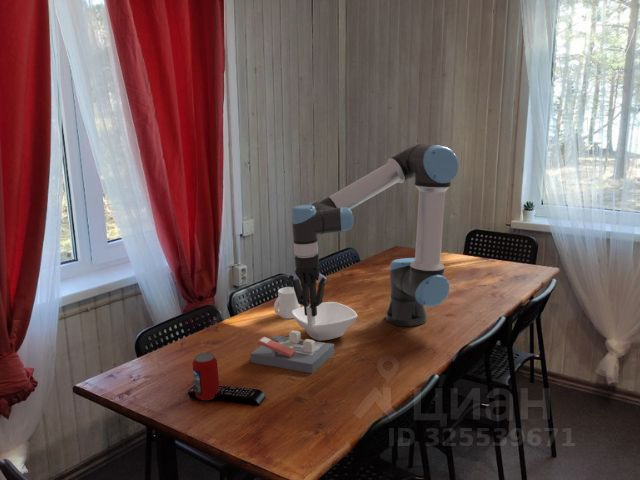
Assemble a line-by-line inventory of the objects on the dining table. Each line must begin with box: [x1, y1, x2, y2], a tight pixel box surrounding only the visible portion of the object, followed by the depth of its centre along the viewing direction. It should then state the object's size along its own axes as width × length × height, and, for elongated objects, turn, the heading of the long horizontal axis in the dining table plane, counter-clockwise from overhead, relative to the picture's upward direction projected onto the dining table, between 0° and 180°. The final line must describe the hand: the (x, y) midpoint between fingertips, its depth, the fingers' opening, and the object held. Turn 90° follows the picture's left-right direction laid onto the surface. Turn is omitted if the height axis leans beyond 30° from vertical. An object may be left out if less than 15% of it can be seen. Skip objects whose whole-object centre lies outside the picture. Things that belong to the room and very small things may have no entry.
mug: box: [273, 286, 301, 320], centre depth 218 cm, size 12×8×10 cm
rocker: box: [256, 336, 296, 357], centre depth 179 cm, size 12×4×1 cm, turn 65°
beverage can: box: [192, 352, 220, 401], centre depth 159 cm, size 7×7×12 cm
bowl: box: [292, 301, 358, 342], centre depth 199 cm, size 21×21×9 cm
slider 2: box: [303, 338, 316, 353], centre depth 179 cm, size 3×2×3 cm
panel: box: [249, 334, 335, 374], centre depth 182 cm, size 22×16×4 cm
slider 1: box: [288, 330, 302, 343], centre depth 187 cm, size 3×2×3 cm
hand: (311, 324), depth 184 cm, fingers closed
